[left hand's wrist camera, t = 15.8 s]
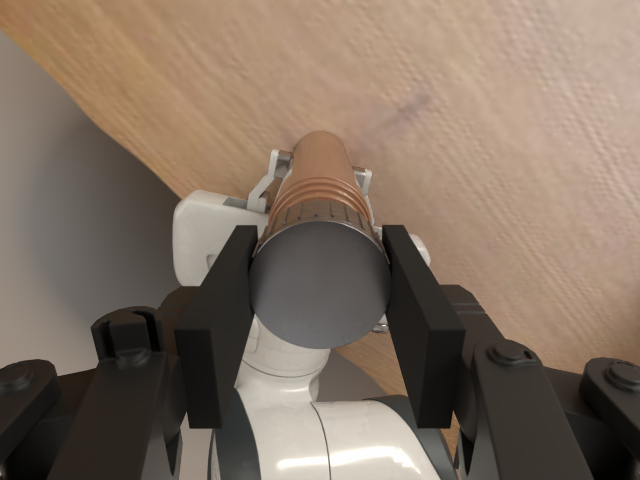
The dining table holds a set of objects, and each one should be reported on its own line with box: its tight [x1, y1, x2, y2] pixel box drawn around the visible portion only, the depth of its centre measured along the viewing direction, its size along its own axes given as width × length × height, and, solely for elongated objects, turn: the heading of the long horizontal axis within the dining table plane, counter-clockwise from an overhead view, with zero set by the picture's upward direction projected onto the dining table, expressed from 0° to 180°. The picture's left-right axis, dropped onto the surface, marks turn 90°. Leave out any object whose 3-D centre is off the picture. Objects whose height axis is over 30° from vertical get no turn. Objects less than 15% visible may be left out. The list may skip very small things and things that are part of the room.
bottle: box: [268, 131, 372, 225], centre depth 24 cm, size 5×5×24 cm
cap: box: [248, 199, 392, 349], centre depth 13 cm, size 5×5×2 cm
